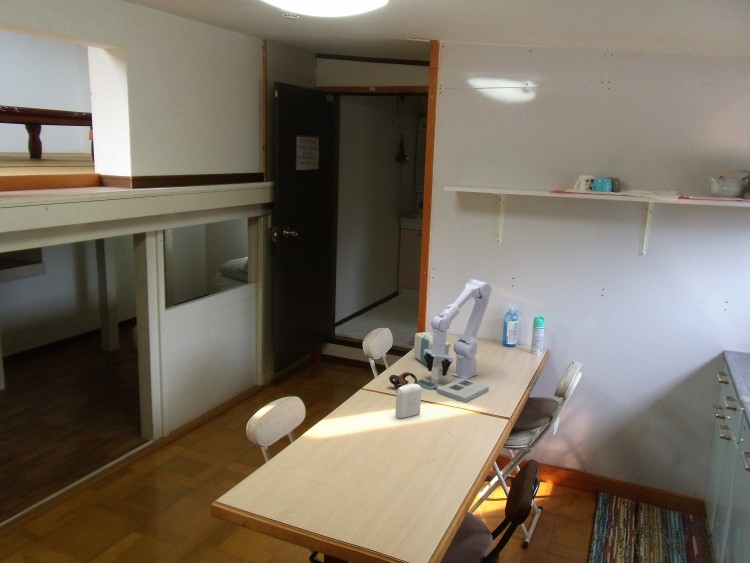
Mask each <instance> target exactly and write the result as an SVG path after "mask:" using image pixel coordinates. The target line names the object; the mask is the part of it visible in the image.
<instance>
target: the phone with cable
mask: <svg viewBox="0 0 750 563" xmlns="http://www.w3.org/2000/svg"><path fill="white" fill-rule="evenodd" d="M417 384H418V385H420V387H421V388H424V389H426V390H429V391H433V390H436V391H437V388H439V387H438V384H437V383H434V382H431V381H427V380H424V379H423V378H422V379H417Z"/></svg>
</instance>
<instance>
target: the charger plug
mask: <svg viewBox="0 0 750 563" xmlns="http://www.w3.org/2000/svg"><path fill="white" fill-rule="evenodd" d="M443 377H444V376H442V367H441V366H435V367H432V371H431V378H430V379H431V380H430V383H433V384H440V383H442V382H443V379H444V378H443Z"/></svg>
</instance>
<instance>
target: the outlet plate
mask: <svg viewBox="0 0 750 563" xmlns="http://www.w3.org/2000/svg"><path fill="white" fill-rule="evenodd" d="M489 390H490V388H489V386H488V385H485V384H481V383H479V382H475V381H471V380H469V379H463V378H460V377H459V378H458V379H456V380H453V381H451V382H449V383H446V384H445V385H442V386H440V387H438V388H437V390H436V394H437V395H438V394H439V395H441V396H444V397H447V398H450V399H454V400H456V401H459V402H462V403H464V404H465V403H467V402H469V401H472V400H474V399H475V398H477V397H479V396H481V395H483V394H486V393H487V392H489Z"/></svg>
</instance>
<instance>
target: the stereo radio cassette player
mask: <svg viewBox="0 0 750 563" xmlns="http://www.w3.org/2000/svg"><path fill="white" fill-rule="evenodd" d="M432 344H433V332H431V331H424V332H423V331H422V332H417V333H415V334H414V345H413V353H414V355H413V356H414V358H415V359H416V360H418V361H420V362H421V363H423V364H424V365H425V366H427V363H426V361H425V359H424V356H425V355H426V354H424V350H425V349H429V350H432ZM449 348H451V343H450V342H448V341H447V340H446V347H445V353H446V354H448V355H449ZM443 360H444V359H441V358H438V357H434V361H433V367H435V366H441V367H442V363H441V361H443Z"/></svg>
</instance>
